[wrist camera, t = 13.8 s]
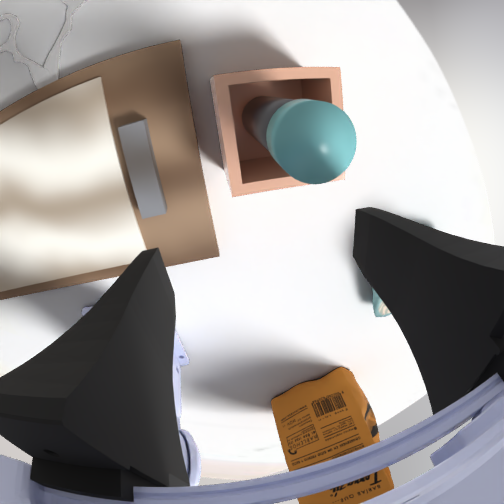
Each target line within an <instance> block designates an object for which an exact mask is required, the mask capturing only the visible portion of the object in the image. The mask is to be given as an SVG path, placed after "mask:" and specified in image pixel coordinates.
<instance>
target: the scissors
mask: <svg viewBox="0 0 504 504" xmlns="http://www.w3.org/2000/svg"><path fill="white" fill-rule="evenodd" d="M61 1H62V2H63V3H65V4H66V5H67V6H68V8H67V10H66V22H65V24H64V26H63V28H62V31H61V33H60V35H59V37H58V39H57V41H56V43H55V45H54V46H53V48H52V50H51V51H50V53H49V55H48V57H47V59H46V61H45V64H44V67H43V66H41V65H39V64H37V63H36V62H34V61H32V60H30V59H28V58H26V57H24V56H22V55H21V54H20V52H19V51H18V50H17V46H16V40H15V37H16V33H17V30H18V28H19V25H20V21H19V19H18V18H17V16H15V15H13V14H8V13H5V14H3V15H1V16H0V22H1V21H2V20H4V19H8V20H9V21H10V23H11V33H10V36H9V38H8V40H7V42H6V43H4V44H3V45H1V46H0V53H1V52H4V51H8V52H11V53H12V54H13V59H14V62H22V63H24V64H26V65H28V68H29V71H30V74H31V76H32V79H33V81H34V84H35V86H36V87H37V89H40V88H42V87H44V86H46V85H48V84H50V83H52V82H54V81H56V80H58V79H59V59H60V52H61V44H62V42H63V40H64V38H65V36H66V35H67V34H68V33H69V32H70V30H71V29H72V15H73V14H74V13H75V12H76V11H77V10H78V8H79V7H80V6H81V5H82V4H84V3H85V2H86V1H87V0H61Z"/></svg>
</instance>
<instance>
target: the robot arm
mask: <svg viewBox="0 0 504 504" xmlns="http://www.w3.org/2000/svg"><path fill="white" fill-rule="evenodd" d="M353 257H354V259H355V260H356V262H357V264H358V266H359V268H360V270H361V272H362V273H363V275H364V277H365V278H366V279H367V281H368V282H369V284H370V285H371V286H372V288H373V289H374V290H375V292H376V293H377V294H378V296H379V297H380V299H381V300H382V301H383V303H384V304H385V305H386V307H387V308H388V310H389V311H390V312H391V314H392V315H393V317H394V318H395V320H396V321H397V323H398V325H399V326H400V328H401V330H402V332H403V334H404V336H405V338H406V340H407V342H408V344H409V346H410V348H411V351H412V353H413V355H414V357H415V360H416V362H417V364H418V367H419V370H420V372H421V375H422V378H423V381H424V383H425V386H426V390H427V393H428V396H429V400H430V403H431V407H432V412H433V416H431V417H429V418H427V419H425V420H424V421H422V422H420V423H418V424H416V425H414V426H412V427H410V428H408V429H406V430H404V431H402V432H400V433H398V434H396V435H393V436H391V437H389V438H387V439H385V440H382V441H380V442H378V443H375V444H373V445H371V446H368V447H366V448H363V449H360V450H358V451H355V452H353V453H350V454H347V455H344V456H341V457H338V458H335V459H332V460H329V461H326V462H323V463H320V464H316V465H313V466H309V467H306V468H302V469H298V470H294V471H290V472H286V473H282V474H278V475H272V476H268V477H262V478H257V479H251V480H245V481H239V482H232V483H223V484H214V485H203V486H198V483H199V480H200V475H201V459H200V453H199V449H198V447H197V445H196V443H195V441H194V439H193V437H192V436H191V434H190V433H189V432H187V431H186V430H183V429H180V417H181V412H182V406H181V372H180V366H183V365H188V364H189V358H188V356H187V354H186V352H185V350H184V347H183V345H182V343H181V341H180V339H179V337H178V334H177V332H176V330H175V321H176V312H175V295H174V291H173V288H172V285H171V282H170V279H169V277H168V274H167V271H166V268H165V265H164V262H163V259H162V256H161V253H160V250H159V247H158V248H153V249H148V250H144V251H142V252H141V253H139V254H138V256H137V257H136V258H135V259H134V260H133V261H132V262H131V264H130V265H129V266H128V267H127V268H126V269H125V271H124V272H123V273H122V274H121V275H120V277H119V278H118V279H117V280H116V281H115V283H114V284H113V285H112V286H111V287H110V288H109V289H108V290H107V292H106V293H105V294H104V295H103V296H102V297H101V298H100V299H99V301H98V302H97V303H96V304H95V305H94V306H90V307H84V308H83V309H82V311H81V313H82V315H83V317H82V318H81V319H80V320H79V321H78V322H77V323H76V324H74V325H73V326H72V327H71V328H70V329H69V330H67V331H66V332H65V333H64V334H63V335H61V336H60V337H59V338H58V339H57V340H56V341H54V342H53V343H52V344H51V345H49V346H48V347H47V348H45V349H44V350H43V351H41V352H40V353H38V354H37V355H36V356H34V357H33V358H31V359H30V360H28V361H27V362H25V363H24V364H22V365H21V366H19V367H17V368H16V369H14V370H12V371H11V372H9V373H7V374H5V375H4V376H2V377H0V435H1V436H3V437H4V438H5V439H7V440H8V441H9V442H11V443H12V444H14V445H15V446H17V447H18V448H20V449H21V450H23V451H24V452H26V453H27V454H29V455H30V456H32V457H33V460H32V465H30V464H28V463H25V462H23V461H20V460H17V459H13V458H10V457H7V456H4V455H0V504H274V503H279V502H283V501H287V500H292V499H296V498H300V497H304V496H308V495H311V494H315V493H318V492H322V491H325V490H328V489H331V488H335V487H338V486H340V485H343V484H346V483H349V482H352V481H354V480H357V479H360V478H362V477H365V476H367V475H370V474H372V473H374V472H377V471H379V470H381V469H384V468H386V467H388V466H390V465H392V464H395V463H397V462H399V461H401V460H403V459H405V458H407V457H409V456H411V455H412V454H414V453H416V452H418V451H420V450H422V449H424V448H425V447H427V446H429V445H430V444H432V443H434V442H436V441H437V440H439V439H441V438H442V437H444V436H446V435H447V434H449V433H450V432H452V431H453V430H455V429H457V428H458V427H460V426H461V425H462V424H464V423H465V422H467V421H468V420H470V419H471V418H472V417H473V418H472V421H471V422H470V423H469V424H468V425H466V426H465V427H464V428H462V429H461V430H460V431H459V432H458V433H457V434H456V435H455V436H454V437H453V438H452V439H451V440H449V441H448V442H447V443H446V444H445V445H443V446H442V447H441V448H440V449H438V450H437V451H435V452H434V453H433V454H431V456H430V458H431V460H432V462H433V464H434V467H433V468H432V469H430V470H428V471H427V472H425V473H423V474H421V475H420V476H418V477H416V478H414V479H412V480H410V481H409V482H406V483H405V484H403V485H401V486H399V487H397V488H394V489H392V490H390V491H388V492H386V493H384V494H381V495H379V496H377V497H375V498H372V499H370V500H367V501H365V502H362V503H360V504H504V247H503V246H497V245H491V244H487V243H482V242H477V241H473V240H469V239H465V238H462V237H458V236H455V235H451V234H448V233H445V232H442V231H439V230H436V229H433V228H430V227H428V226H425V225H422V224H419V223H417V222H414V221H411V220H409V219H406V218H403V217H401V216H398V215H395V214H392V213H389V212H386V211H383V210H380V209H376V208H372V207H367V208H361V209H356V216H355V233H354V247H353Z"/></svg>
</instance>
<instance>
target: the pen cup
mask: <svg viewBox="0 0 504 504" xmlns="http://www.w3.org/2000/svg"><path fill="white" fill-rule="evenodd" d="M210 84H211V91H212V97H213V104H214V110H215V117H216V123H217V129H218V136H219V142H220V148H221V154H222V160H223V166H224V172H225V175H226V178H227V181H228V185H229V188H230V191H231V194H232V197H236V196H242V195H247V194H253V193H259V192H264V191H270V190H277V189H283V188H289V187H296V186H302V185H309V184H307V183H303V182H300V181H298V180H296V179H294V178H293V177H291V176H290V175H289V174H288V173H287V172H286V171H285V170H284V169H283V168H282V167H281V166H280V165H279V164H278V163H277V162H276V161H275V160H274V159H273V157H272V156H271V154H270V152H269V151H268V150H267V149H266V148H265V147H264V146H263V145H262V144H260V143H259V142H258V141H257V140H256V139H255V138H254V137H253V136H252V135H251V134H250V133H248V132H247V130H246V129H245V128H244V126H243V123H242V112H243V109H244V107H245V106H246V104H247V103H248V102H249V101H251V100H252V99H254V98H256V97H260V96H269V97H278V98H286V99H294V100H297V99H311V100H318V101H324V102H328V103H331V104H334V105H336V106H337V107H339V108H340V109H342V110H343V97H342V84H341V72H340V67H290V68H272V69H259V70H249V71H240V72H232V73H225V74H218V75H213V76H212V78H211V79H210ZM338 180H345V171H344V172H343V173H342V174H341V175H339V176H338V177H337V178H335V179H333V180H331V181H338ZM331 181H329V182H331Z"/></svg>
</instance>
